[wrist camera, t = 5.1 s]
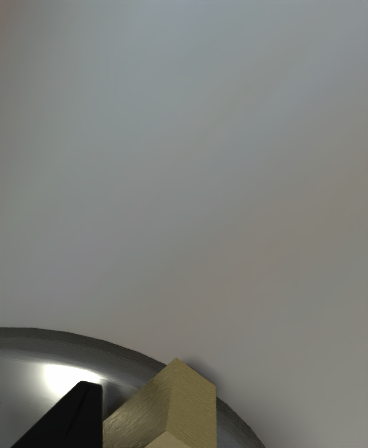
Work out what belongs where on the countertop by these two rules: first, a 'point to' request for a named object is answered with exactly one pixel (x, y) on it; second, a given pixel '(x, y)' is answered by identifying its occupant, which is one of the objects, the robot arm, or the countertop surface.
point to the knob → (166, 413)
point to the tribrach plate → (76, 371)
